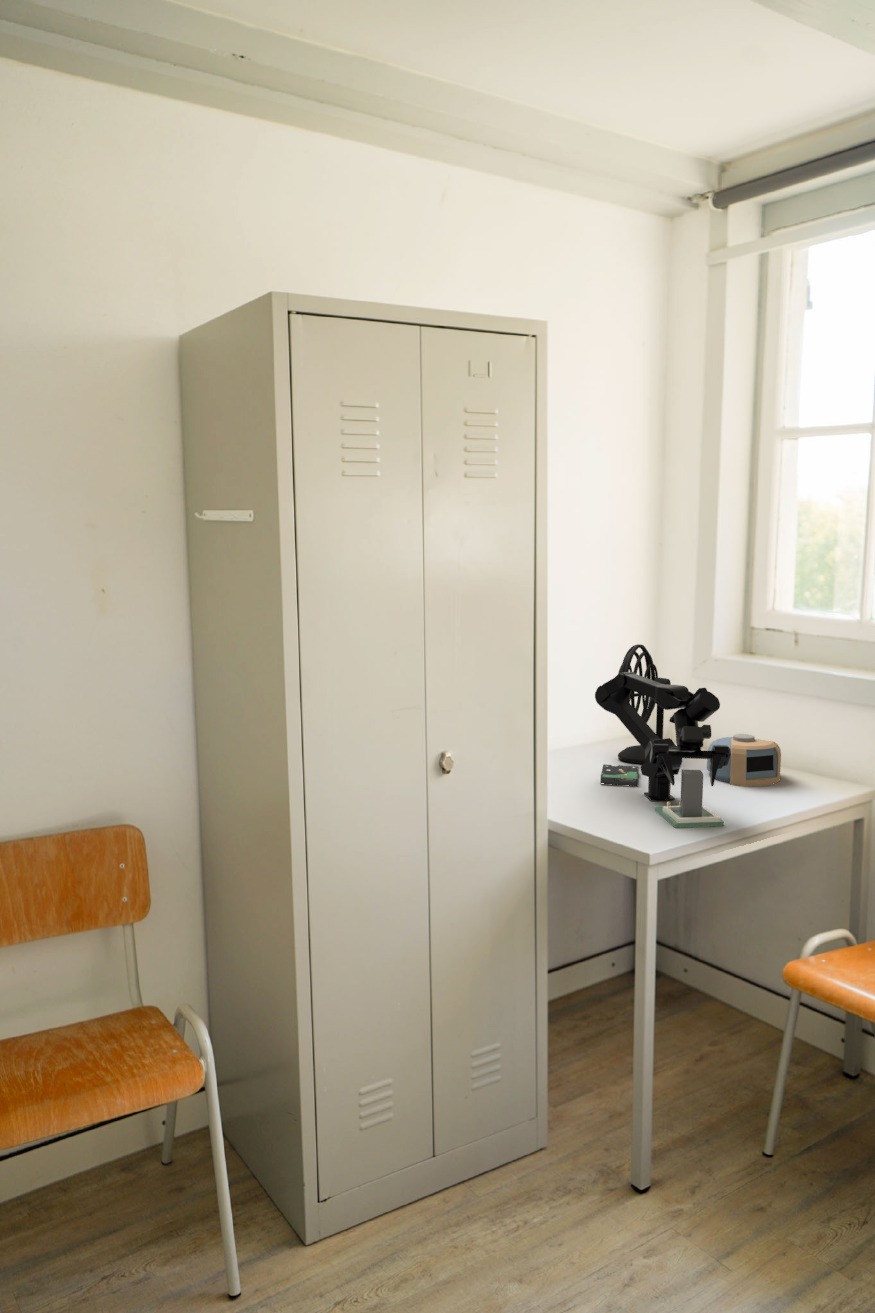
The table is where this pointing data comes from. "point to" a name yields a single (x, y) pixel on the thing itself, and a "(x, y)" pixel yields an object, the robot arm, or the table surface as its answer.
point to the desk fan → (638, 751)
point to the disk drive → (620, 775)
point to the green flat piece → (677, 821)
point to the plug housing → (691, 793)
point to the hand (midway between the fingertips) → (693, 785)
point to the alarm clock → (749, 761)
